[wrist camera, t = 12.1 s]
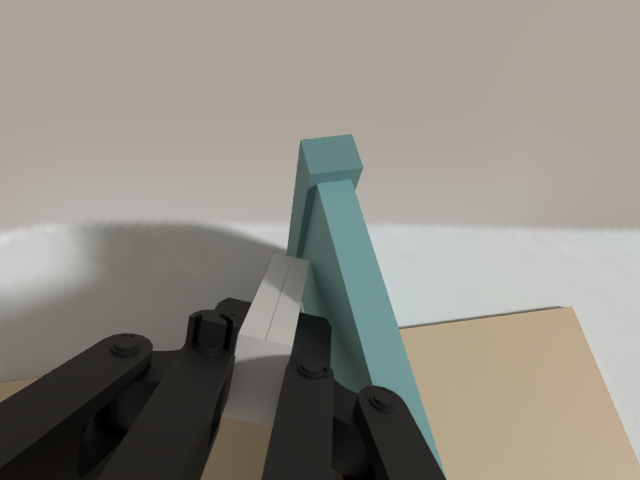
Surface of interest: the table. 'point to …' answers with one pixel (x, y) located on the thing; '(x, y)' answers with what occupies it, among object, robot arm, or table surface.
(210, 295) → the table surface
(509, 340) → the mat
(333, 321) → the fence gate
